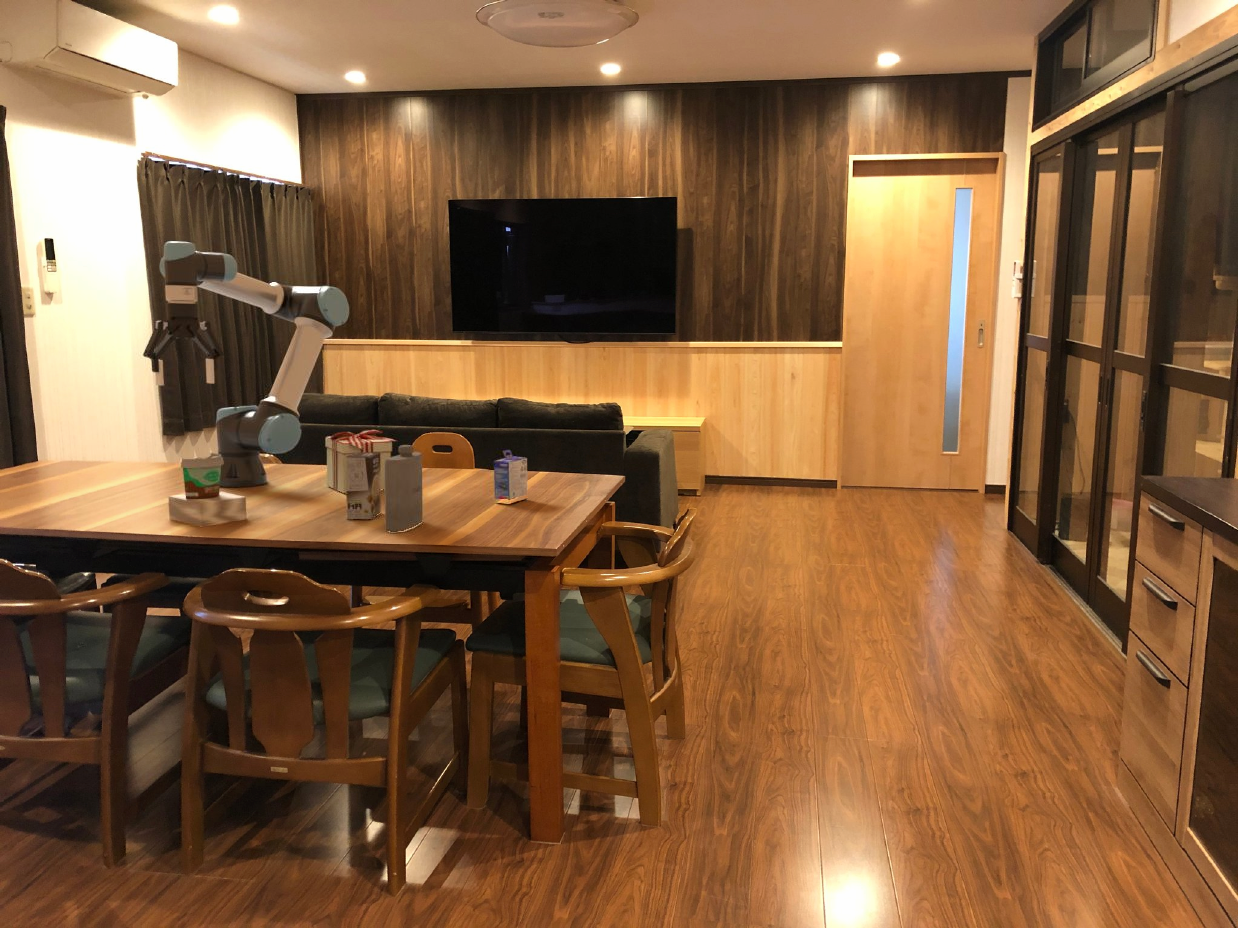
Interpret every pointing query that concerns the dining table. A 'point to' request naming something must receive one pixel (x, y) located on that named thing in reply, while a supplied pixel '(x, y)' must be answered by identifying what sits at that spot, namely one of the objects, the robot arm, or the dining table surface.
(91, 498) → the dining table surface
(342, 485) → the gift box
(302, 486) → the dining table surface
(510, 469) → the ink cartridge box
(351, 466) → the coffee box
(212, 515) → the birch block
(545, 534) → the dining table surface
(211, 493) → the food container
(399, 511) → the flask
